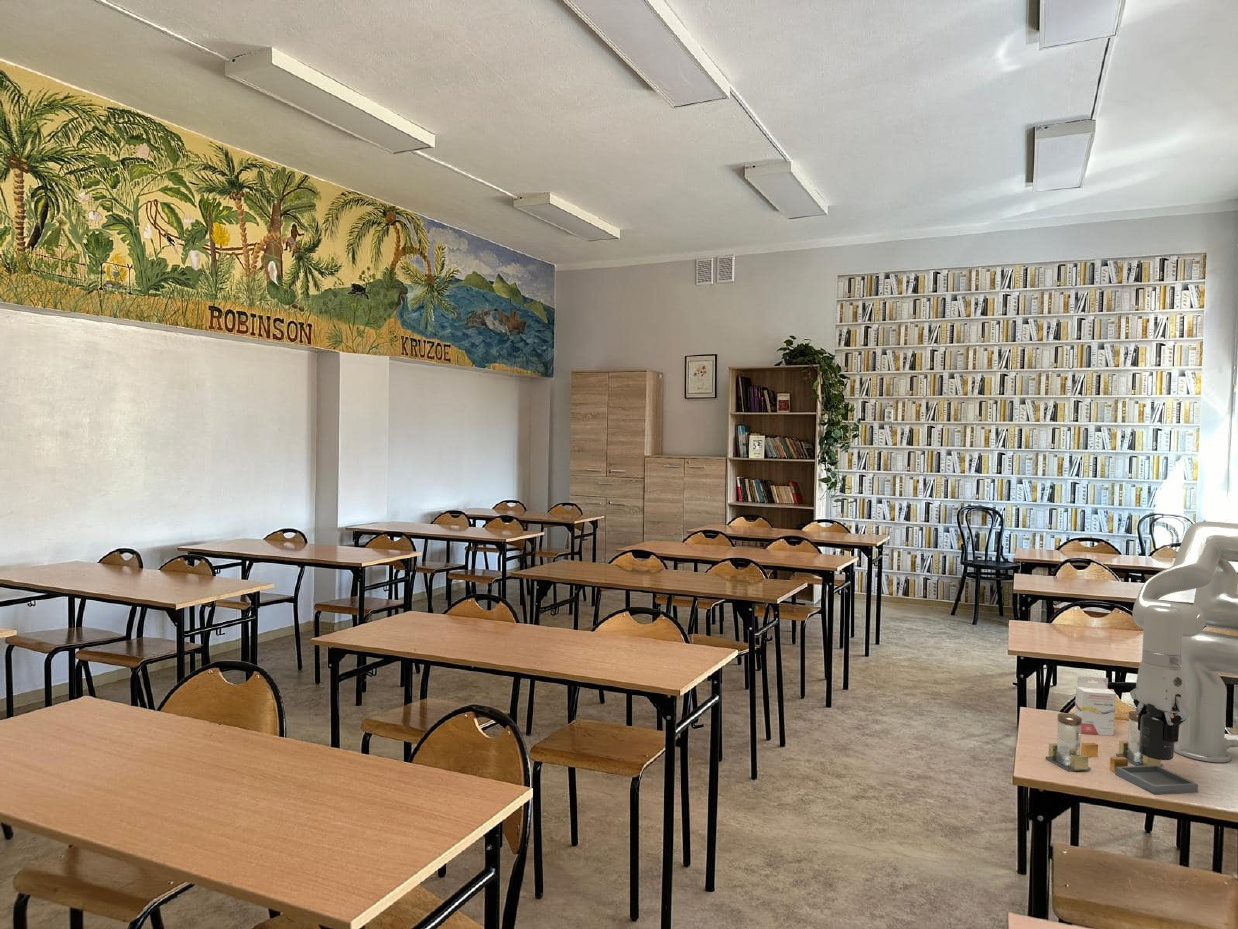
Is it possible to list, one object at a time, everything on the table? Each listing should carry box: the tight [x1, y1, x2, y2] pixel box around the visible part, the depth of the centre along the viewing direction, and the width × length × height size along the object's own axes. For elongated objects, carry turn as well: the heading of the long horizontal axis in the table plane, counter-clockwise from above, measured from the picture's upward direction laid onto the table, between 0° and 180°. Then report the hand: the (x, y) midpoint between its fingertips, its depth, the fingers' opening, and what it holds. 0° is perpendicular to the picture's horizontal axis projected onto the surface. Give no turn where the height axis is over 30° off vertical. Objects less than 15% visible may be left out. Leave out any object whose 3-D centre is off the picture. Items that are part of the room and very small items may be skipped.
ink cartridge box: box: [1074, 675, 1117, 736], centre depth 228 cm, size 9×5×15 cm, turn 84°
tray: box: [1114, 765, 1199, 795], centre depth 193 cm, size 11×11×2 cm
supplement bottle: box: [1139, 704, 1175, 761], centre depth 192 cm, size 7×7×12 cm
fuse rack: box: [1045, 710, 1164, 773], centre depth 204 cm, size 26×11×12 cm, turn 100°
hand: (1157, 735), depth 192 cm, fingers closed on supplement bottle, 6 cm apart
